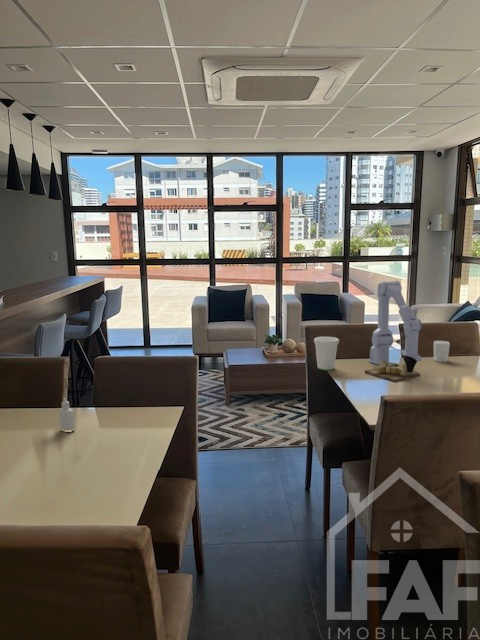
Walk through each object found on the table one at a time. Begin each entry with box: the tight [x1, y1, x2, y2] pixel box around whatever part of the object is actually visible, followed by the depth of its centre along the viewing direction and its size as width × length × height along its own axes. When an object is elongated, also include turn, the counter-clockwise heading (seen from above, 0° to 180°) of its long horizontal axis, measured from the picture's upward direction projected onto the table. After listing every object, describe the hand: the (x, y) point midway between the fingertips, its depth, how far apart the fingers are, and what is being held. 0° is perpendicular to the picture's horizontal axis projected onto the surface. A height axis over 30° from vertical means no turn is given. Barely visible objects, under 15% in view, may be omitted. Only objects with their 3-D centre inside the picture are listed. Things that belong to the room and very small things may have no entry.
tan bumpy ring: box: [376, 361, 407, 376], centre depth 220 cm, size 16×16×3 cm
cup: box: [313, 336, 340, 371], centre depth 231 cm, size 12×12×15 cm
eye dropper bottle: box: [58, 397, 76, 430], centre depth 160 cm, size 4×6×12 cm
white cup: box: [433, 340, 451, 363], centre depth 243 cm, size 8×8×10 cm
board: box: [364, 364, 421, 383], centre depth 220 cm, size 18×18×5 cm
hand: (409, 372), depth 217 cm, fingers closed
